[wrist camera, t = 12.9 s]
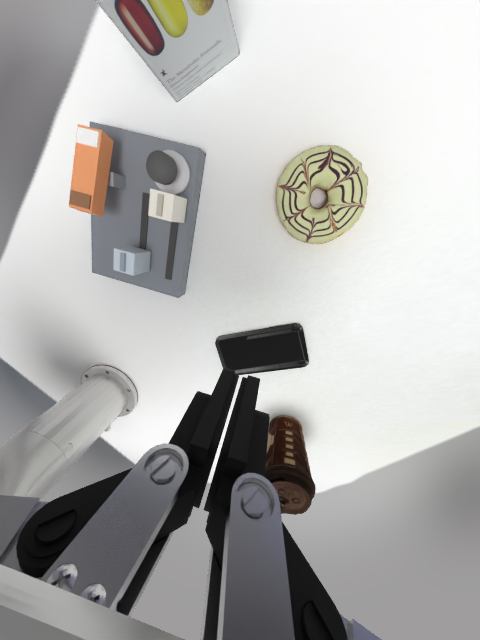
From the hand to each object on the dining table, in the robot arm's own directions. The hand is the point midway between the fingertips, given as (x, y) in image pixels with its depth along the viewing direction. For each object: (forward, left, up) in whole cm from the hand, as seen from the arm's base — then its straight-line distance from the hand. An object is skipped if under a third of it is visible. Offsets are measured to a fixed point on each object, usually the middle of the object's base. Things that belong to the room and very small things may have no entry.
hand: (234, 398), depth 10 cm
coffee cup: (-27, -11, -27) cm, 40 cm away
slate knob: (-2, +20, -24) cm, 31 cm away
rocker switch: (+8, +25, -22) cm, 34 cm away
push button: (+10, +16, -22) cm, 29 cm away
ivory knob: (+7, +15, -24) cm, 29 cm away
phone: (-12, -2, -28) cm, 30 cm away
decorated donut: (+12, -3, -28) cm, 30 cm away
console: (+4, +21, -27) cm, 34 cm away
